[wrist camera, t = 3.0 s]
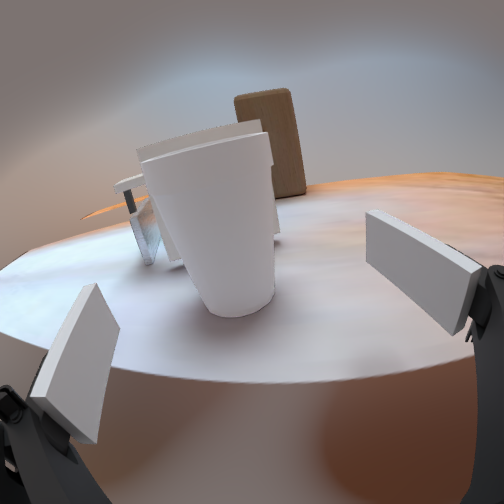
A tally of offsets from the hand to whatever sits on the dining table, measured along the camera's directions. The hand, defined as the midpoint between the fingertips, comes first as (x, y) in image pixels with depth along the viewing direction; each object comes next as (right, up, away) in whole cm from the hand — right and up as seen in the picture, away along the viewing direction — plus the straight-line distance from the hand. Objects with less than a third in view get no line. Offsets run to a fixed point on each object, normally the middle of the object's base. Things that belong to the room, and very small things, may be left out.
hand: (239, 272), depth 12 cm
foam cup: (-1, -3, +12) cm, 12 cm away
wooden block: (+6, +12, +41) cm, 43 cm away
